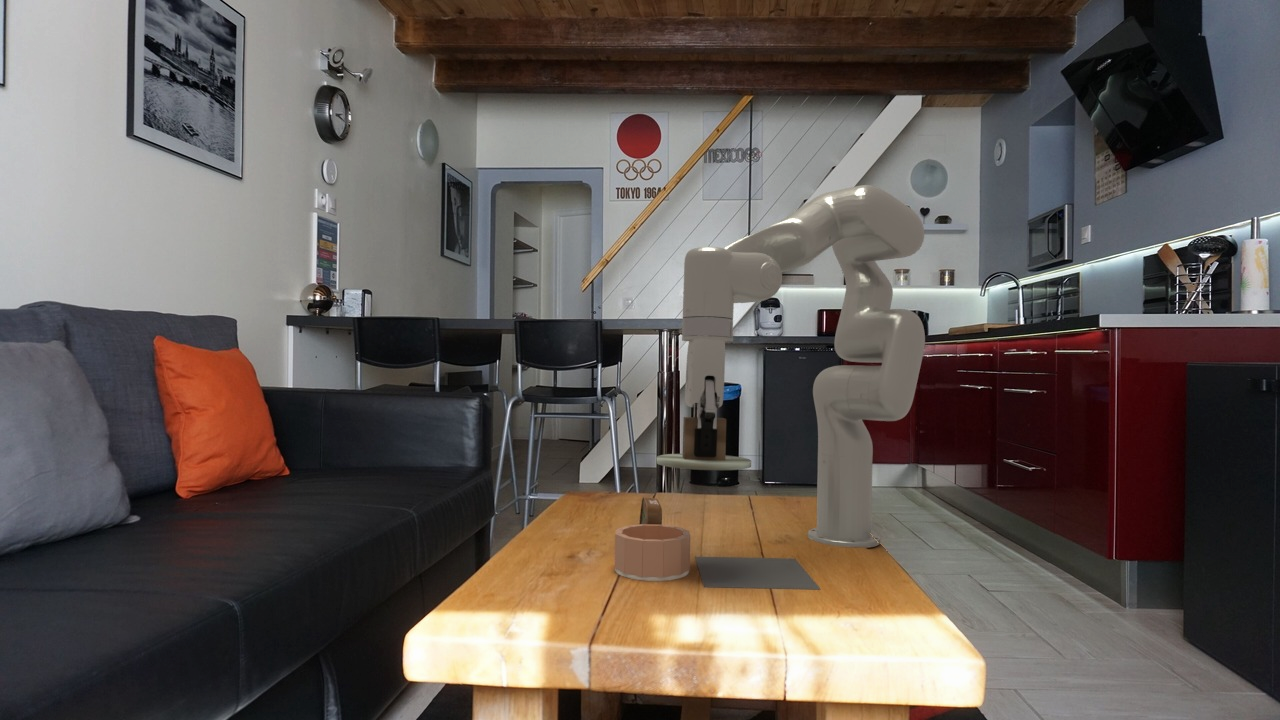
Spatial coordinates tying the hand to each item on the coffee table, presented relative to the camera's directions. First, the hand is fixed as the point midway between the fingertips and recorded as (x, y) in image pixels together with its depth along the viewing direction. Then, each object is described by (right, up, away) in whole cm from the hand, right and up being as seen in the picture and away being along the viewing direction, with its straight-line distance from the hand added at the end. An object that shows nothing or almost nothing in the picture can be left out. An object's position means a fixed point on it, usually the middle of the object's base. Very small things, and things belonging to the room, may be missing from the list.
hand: (703, 454), depth 105 cm
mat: (+7, -18, 0) cm, 19 cm away
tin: (-8, -18, +13) cm, 24 cm away
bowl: (-8, -18, 0) cm, 19 cm away
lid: (0, -2, 0) cm, 2 cm away
